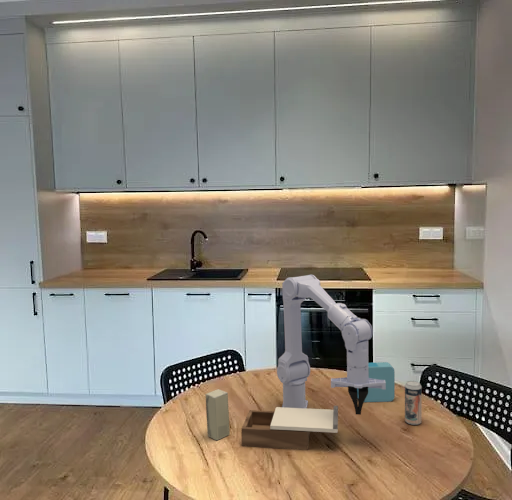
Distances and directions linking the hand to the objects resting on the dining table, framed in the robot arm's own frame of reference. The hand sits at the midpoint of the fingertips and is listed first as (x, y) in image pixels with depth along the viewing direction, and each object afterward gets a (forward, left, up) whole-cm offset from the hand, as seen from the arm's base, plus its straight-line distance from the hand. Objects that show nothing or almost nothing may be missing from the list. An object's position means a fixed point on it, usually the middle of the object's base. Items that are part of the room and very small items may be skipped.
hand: (358, 412), depth 132 cm
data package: (-30, +6, -9) cm, 32 cm away
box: (+1, -40, -9) cm, 41 cm away
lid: (0, -15, -3) cm, 15 cm away
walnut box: (0, -23, -8) cm, 24 cm away
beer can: (-14, +16, -9) cm, 23 cm away
